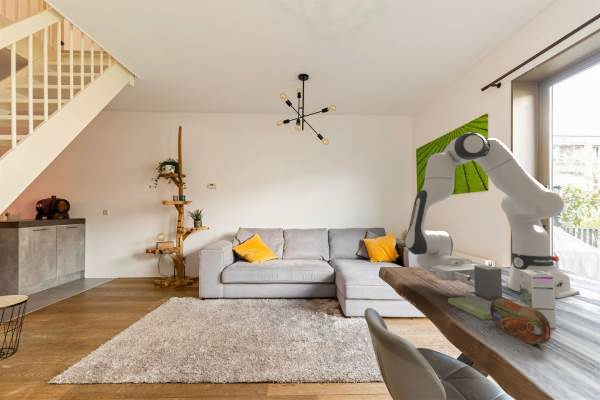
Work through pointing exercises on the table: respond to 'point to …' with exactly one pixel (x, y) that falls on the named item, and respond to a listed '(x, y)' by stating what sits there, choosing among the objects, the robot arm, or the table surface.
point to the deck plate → (474, 305)
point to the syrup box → (538, 293)
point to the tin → (520, 321)
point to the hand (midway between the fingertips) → (480, 277)
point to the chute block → (488, 282)
